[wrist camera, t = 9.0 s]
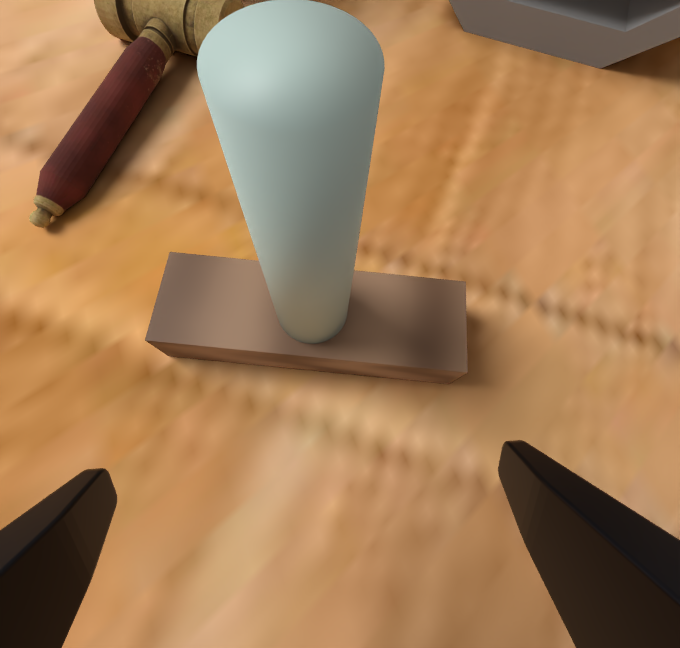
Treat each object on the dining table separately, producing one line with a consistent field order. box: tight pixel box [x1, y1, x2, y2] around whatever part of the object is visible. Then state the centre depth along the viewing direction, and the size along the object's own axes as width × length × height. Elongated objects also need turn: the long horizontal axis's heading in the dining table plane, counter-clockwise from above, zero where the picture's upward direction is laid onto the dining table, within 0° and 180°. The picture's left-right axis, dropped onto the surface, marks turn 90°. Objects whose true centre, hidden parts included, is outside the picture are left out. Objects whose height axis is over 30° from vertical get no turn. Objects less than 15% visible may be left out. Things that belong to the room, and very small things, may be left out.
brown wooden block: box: [145, 252, 468, 384], centre depth 21 cm, size 16×5×3 cm, turn 85°
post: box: [197, 0, 384, 344], centre depth 13 cm, size 4×4×13 cm
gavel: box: [29, 0, 244, 228], centre depth 26 cm, size 21×5×10 cm
